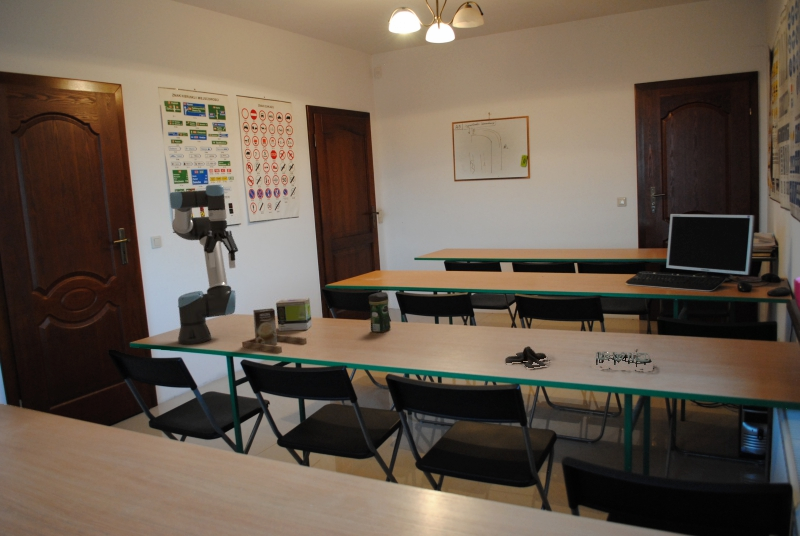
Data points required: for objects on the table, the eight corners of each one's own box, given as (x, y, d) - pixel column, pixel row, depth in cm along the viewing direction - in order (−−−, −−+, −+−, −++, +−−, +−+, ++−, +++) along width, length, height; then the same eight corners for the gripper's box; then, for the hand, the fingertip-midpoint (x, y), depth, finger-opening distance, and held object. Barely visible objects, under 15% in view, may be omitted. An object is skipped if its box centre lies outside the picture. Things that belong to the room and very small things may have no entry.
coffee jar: (380, 327, 287) (377, 290, 285) (393, 329, 282) (390, 291, 280) (367, 332, 279) (365, 294, 277) (380, 333, 275) (378, 295, 272)
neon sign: (651, 340, 224) (654, 362, 197) (651, 350, 225) (654, 374, 198) (593, 337, 232) (589, 358, 205) (594, 348, 233) (589, 370, 206)
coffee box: (257, 347, 262) (254, 312, 260) (255, 344, 268) (252, 310, 266) (277, 344, 265) (274, 310, 263) (275, 341, 271) (272, 307, 269)
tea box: (312, 325, 300) (310, 297, 299) (307, 330, 291) (304, 301, 289) (283, 326, 302) (281, 298, 300) (278, 331, 292) (275, 302, 290)
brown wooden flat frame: (242, 347, 264) (242, 342, 263) (270, 338, 278) (269, 333, 277) (279, 353, 250) (278, 347, 250) (306, 343, 264) (306, 338, 264)
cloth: (541, 373, 205) (540, 356, 204) (495, 365, 217) (494, 349, 216) (567, 357, 222) (566, 342, 222) (523, 351, 234) (522, 336, 233)
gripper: (192, 221, 261) (197, 268, 264) (229, 220, 247) (234, 269, 250) (206, 220, 267) (211, 265, 270) (243, 218, 253) (247, 267, 256)
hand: (222, 267), depth 260 cm, fingers open, 13 cm apart
